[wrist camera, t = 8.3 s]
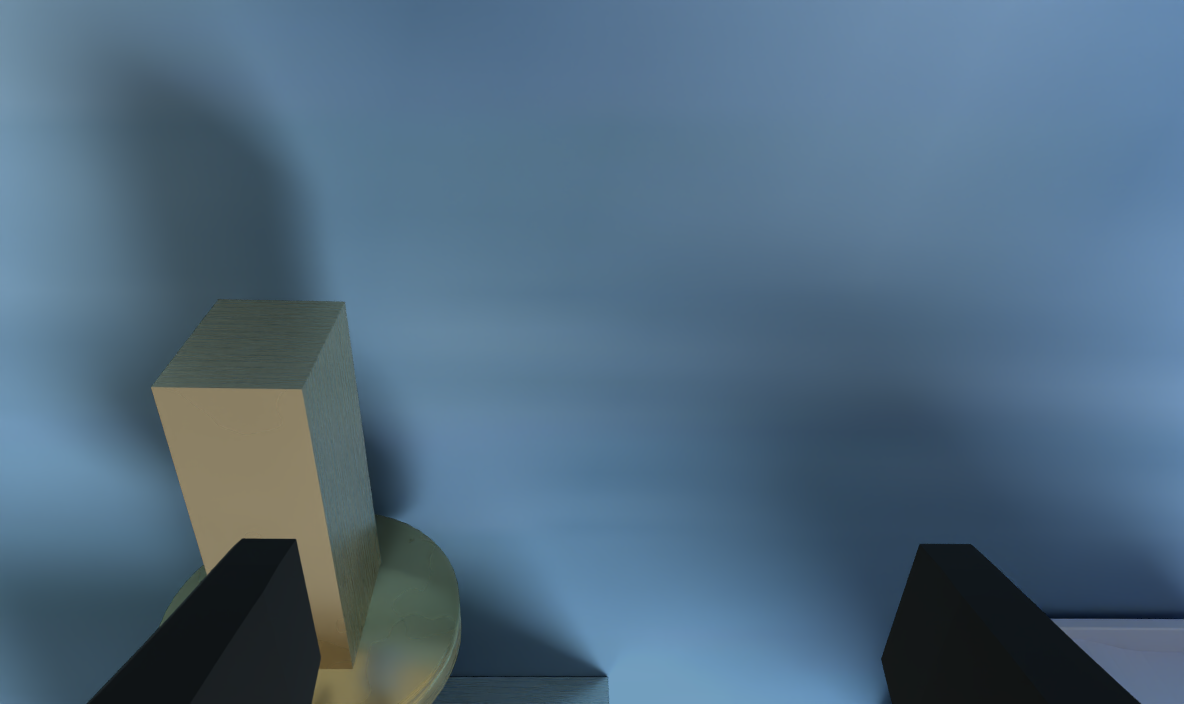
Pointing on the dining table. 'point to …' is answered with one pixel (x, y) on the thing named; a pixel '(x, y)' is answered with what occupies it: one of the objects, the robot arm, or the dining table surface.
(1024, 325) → the dining table surface
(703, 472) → the dining table surface
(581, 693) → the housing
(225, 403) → the gold trophy
